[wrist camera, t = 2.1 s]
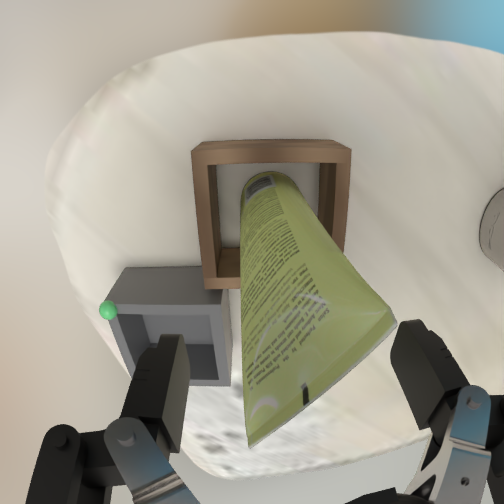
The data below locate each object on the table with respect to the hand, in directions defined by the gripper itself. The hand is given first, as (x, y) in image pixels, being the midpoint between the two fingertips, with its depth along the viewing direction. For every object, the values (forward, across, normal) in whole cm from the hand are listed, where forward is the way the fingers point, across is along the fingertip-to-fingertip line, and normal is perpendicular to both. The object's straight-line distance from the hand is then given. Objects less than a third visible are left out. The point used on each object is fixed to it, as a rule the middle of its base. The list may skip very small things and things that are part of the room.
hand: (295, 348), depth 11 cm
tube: (+17, 0, 0) cm, 17 cm away
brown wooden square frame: (+17, 0, 0) cm, 17 cm away
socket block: (+17, +9, +11) cm, 22 cm away
